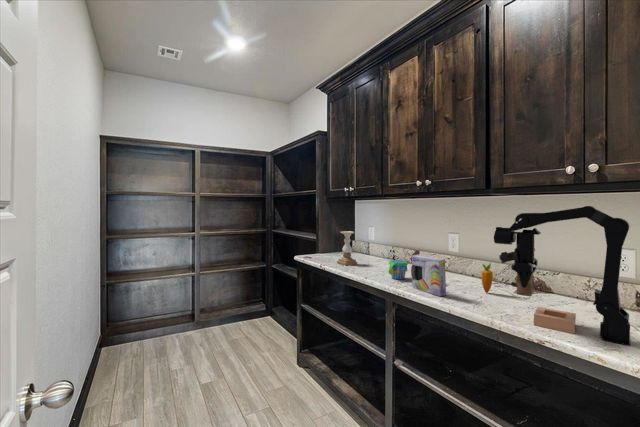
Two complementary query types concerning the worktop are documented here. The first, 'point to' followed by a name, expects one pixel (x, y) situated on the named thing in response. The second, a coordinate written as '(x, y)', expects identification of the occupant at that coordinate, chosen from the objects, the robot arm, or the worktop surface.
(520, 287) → the walnut peg
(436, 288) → the cake pan box
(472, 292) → the worktop surface
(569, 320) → the frame
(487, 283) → the carrot
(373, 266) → the worktop surface
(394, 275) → the snack cup
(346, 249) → the candle holder
